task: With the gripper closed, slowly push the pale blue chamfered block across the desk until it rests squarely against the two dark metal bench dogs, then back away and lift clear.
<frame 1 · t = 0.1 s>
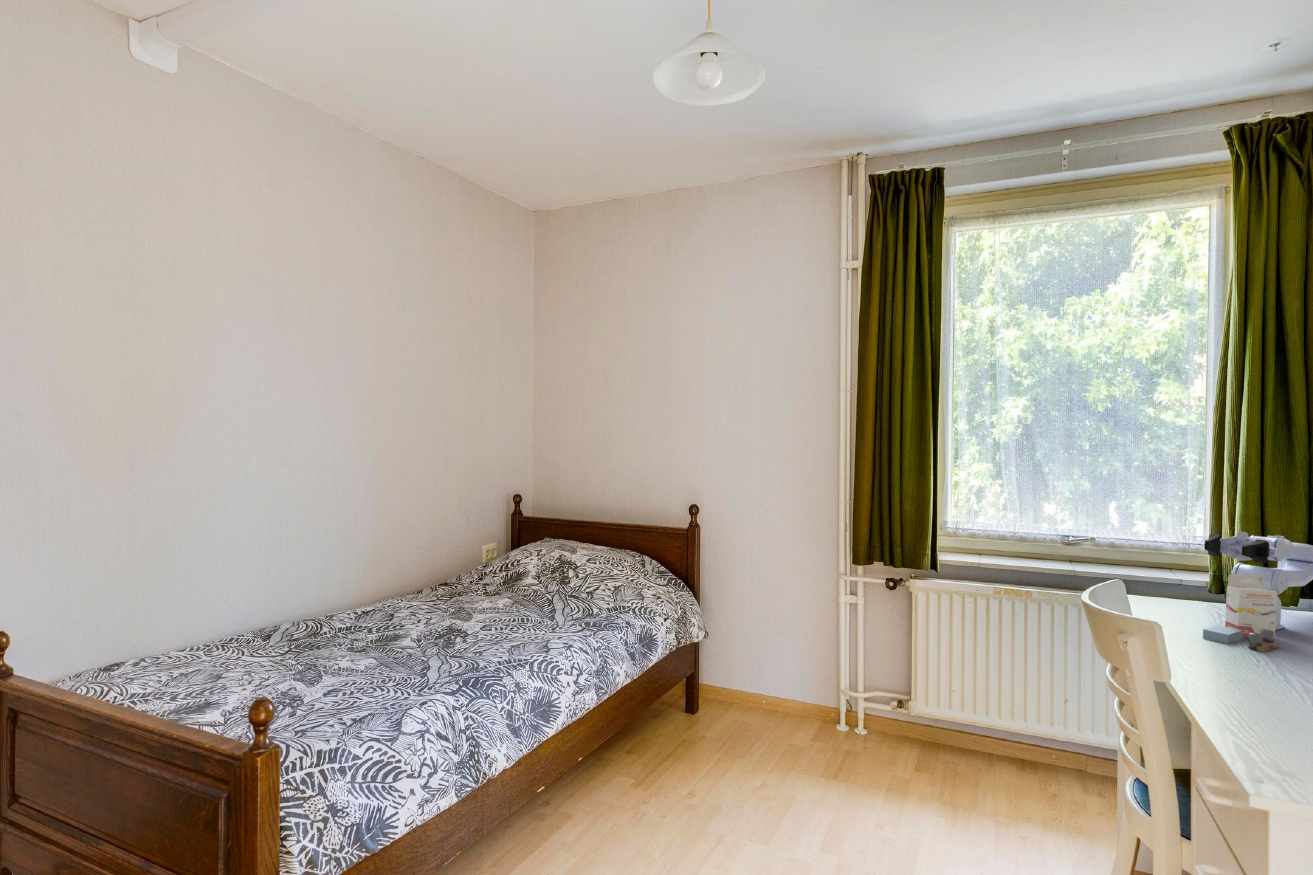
hand: (1224, 547, 173), 22 cm above the table, tool horizontal, fingers open, 7 cm apart
pale blue chamfered block: (1222, 639, 171), on the table
ink cartridge box: (1249, 636, 174), on the table
bench dogs: (1261, 647, 165), on the table
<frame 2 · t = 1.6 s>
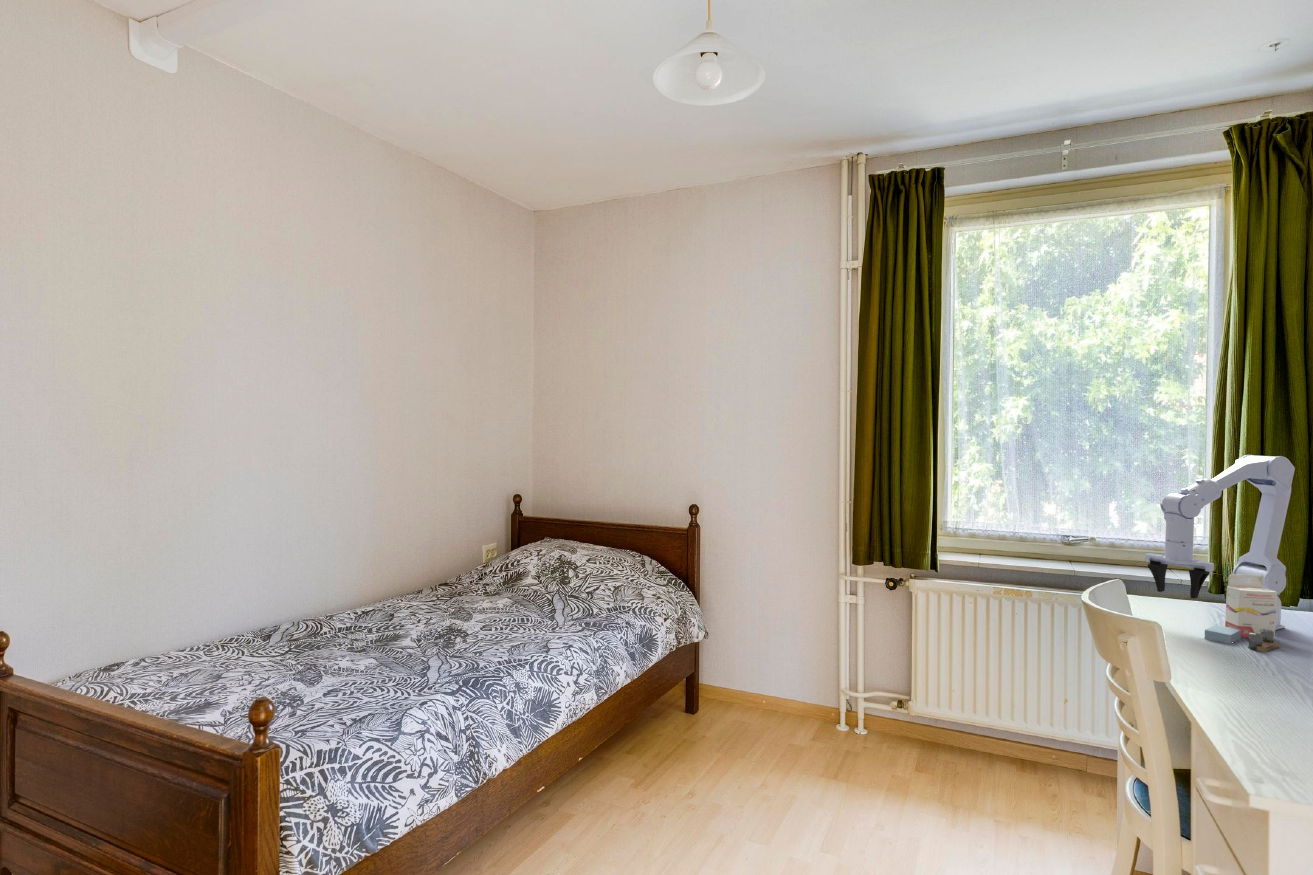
hand: (1177, 594, 180), 8 cm above the table, tool pointing down, fingers open, 7 cm apart
nothing on the table moved.
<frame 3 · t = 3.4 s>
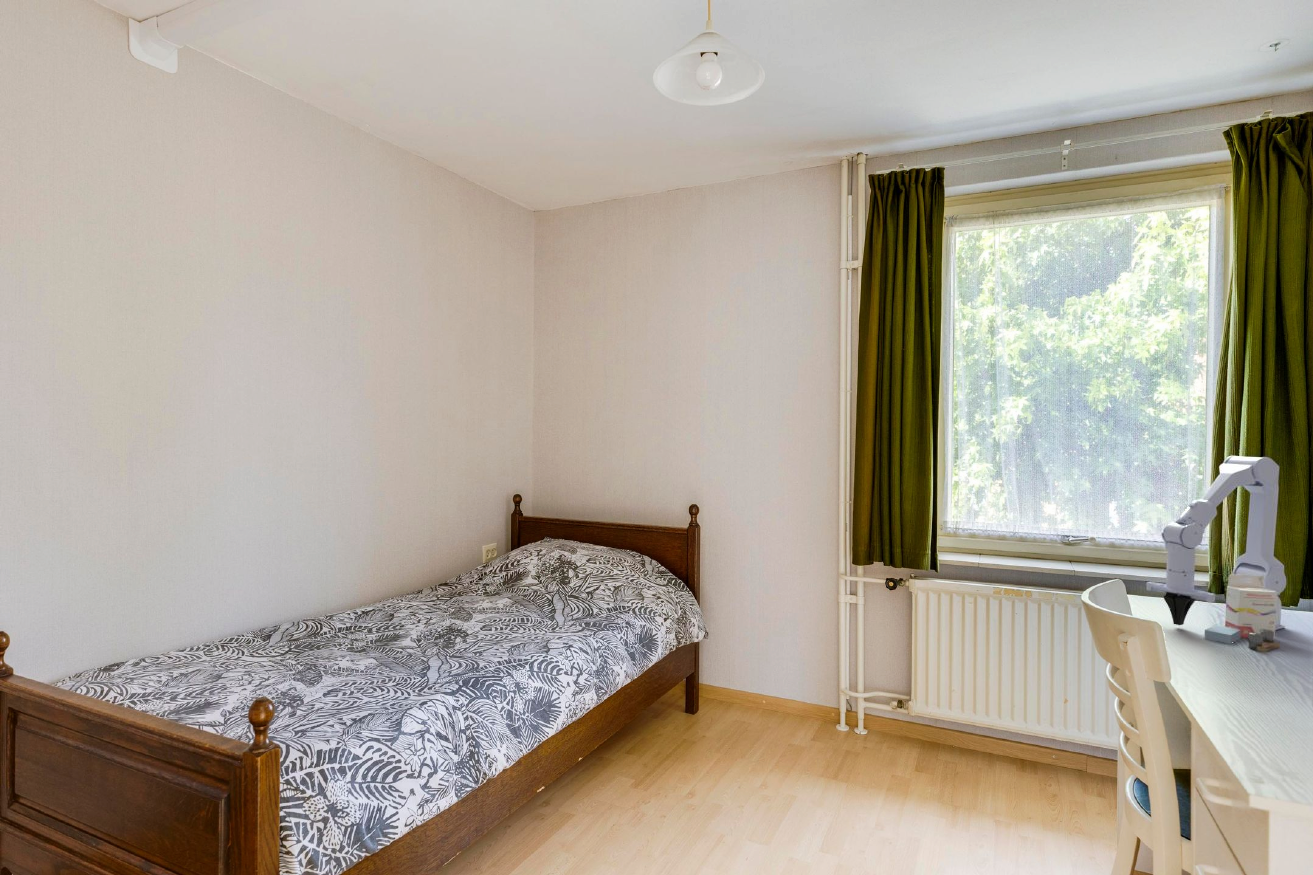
hand: (1178, 624, 180), 1 cm above the table, tool pointing down, fingers closed
nothing on the table moved.
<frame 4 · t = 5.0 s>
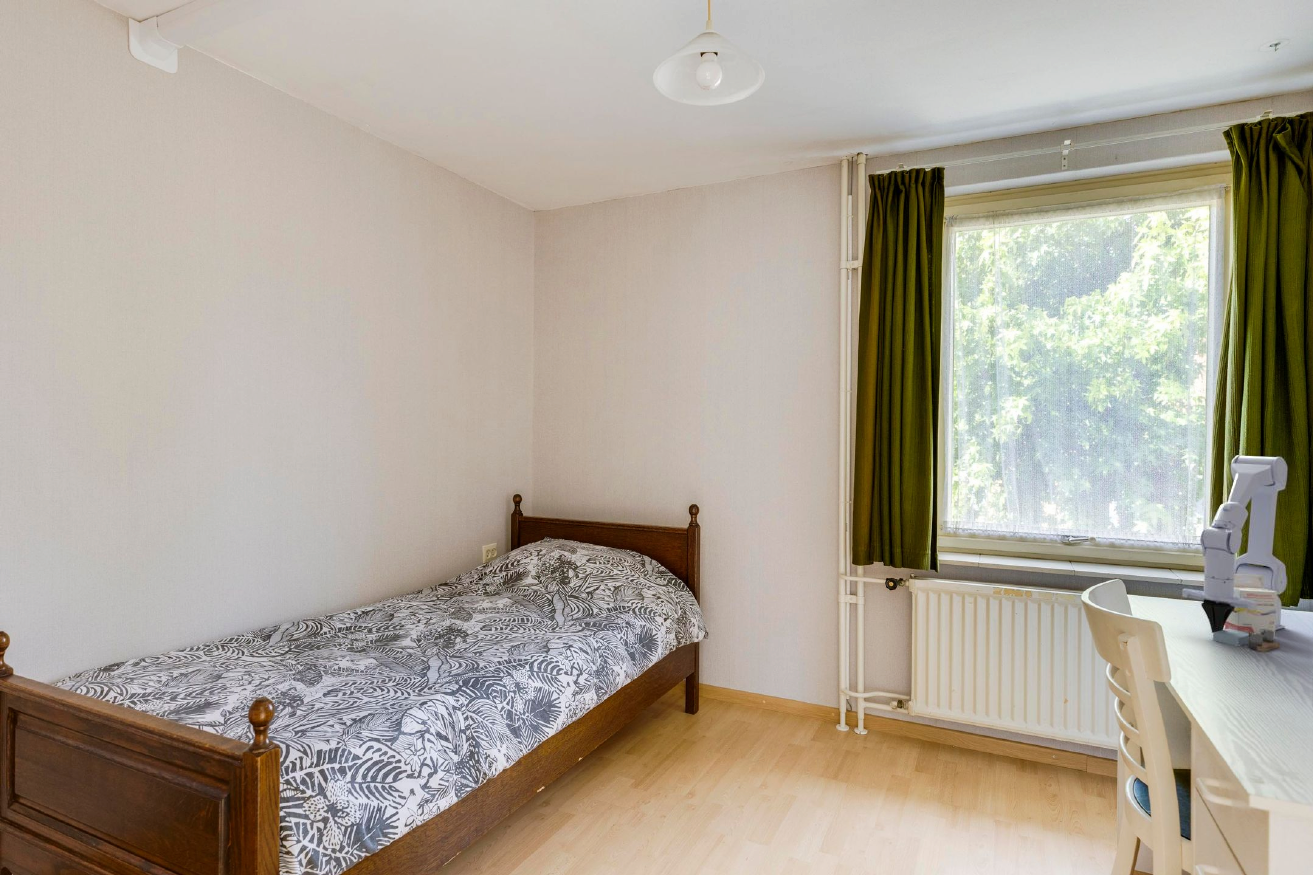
hand: (1217, 632, 172), 1 cm above the table, tool pointing down, fingers closed
pale blue chamfered block: (1233, 643, 169), on the table, touching gripper
everything else where it was.
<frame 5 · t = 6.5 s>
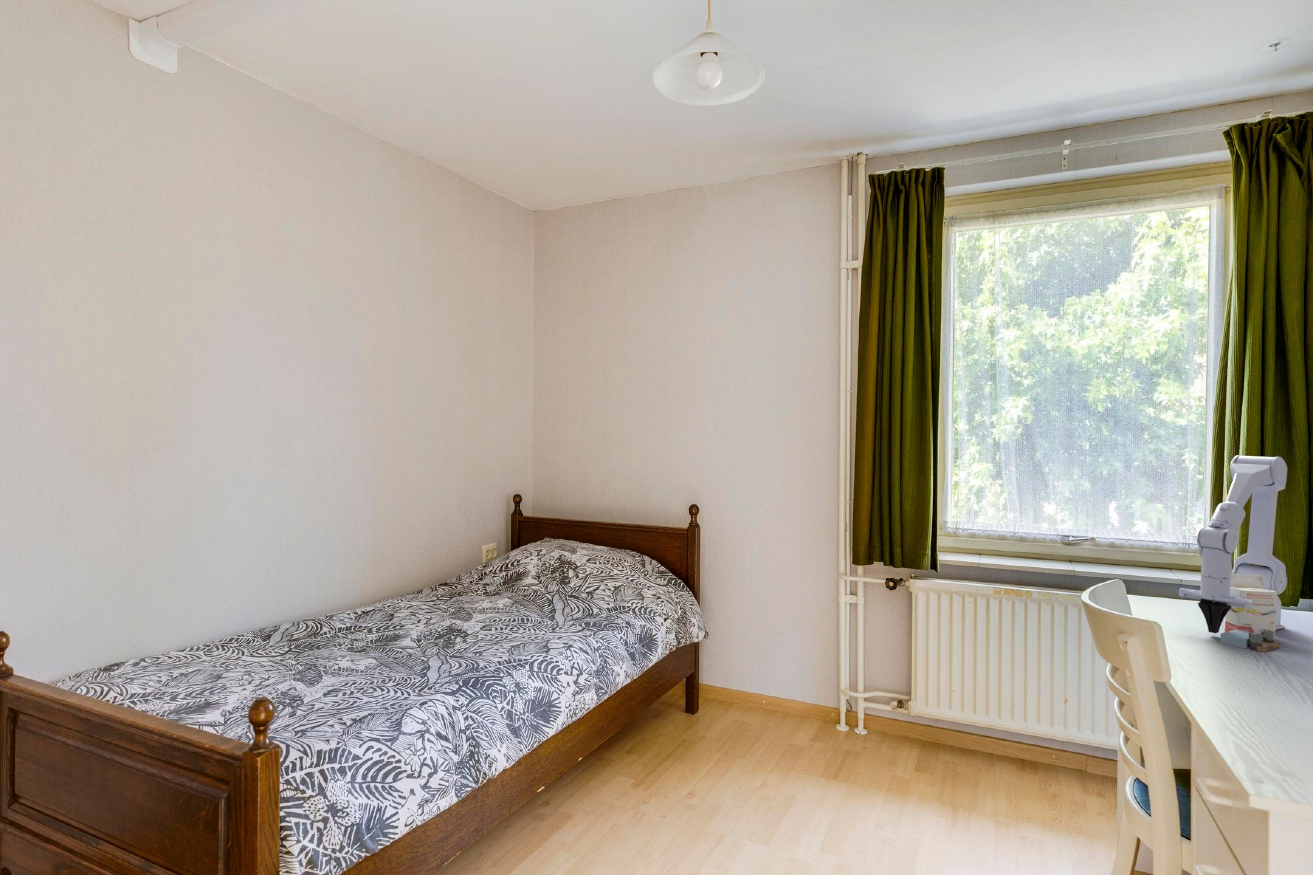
hand: (1213, 632, 173), 1 cm above the table, tool pointing down, fingers closed
pale blue chamfered block: (1240, 644, 168), on the table
everything else where it was.
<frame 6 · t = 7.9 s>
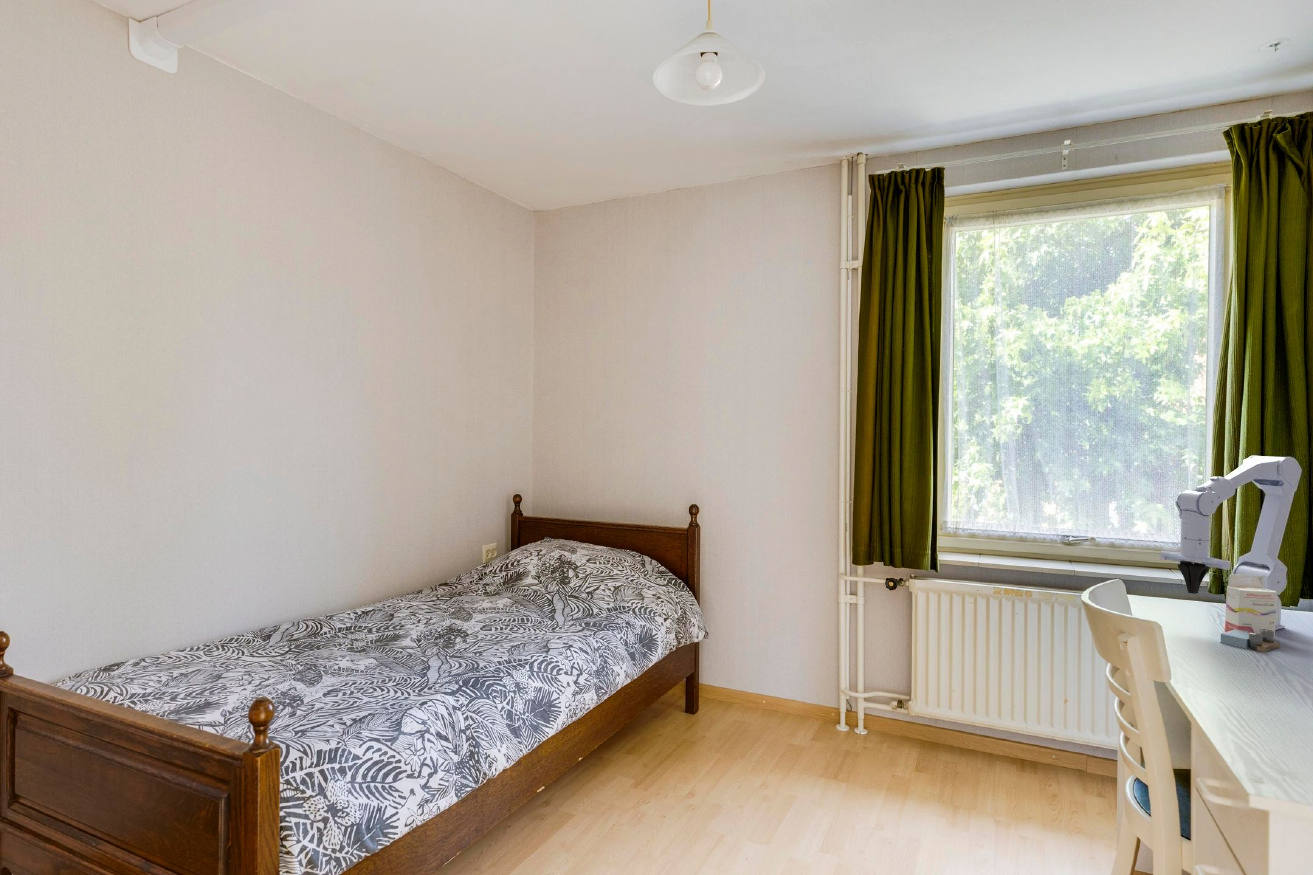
hand: (1192, 592, 178), 9 cm above the table, tool pointing down, fingers closed
nothing on the table moved.
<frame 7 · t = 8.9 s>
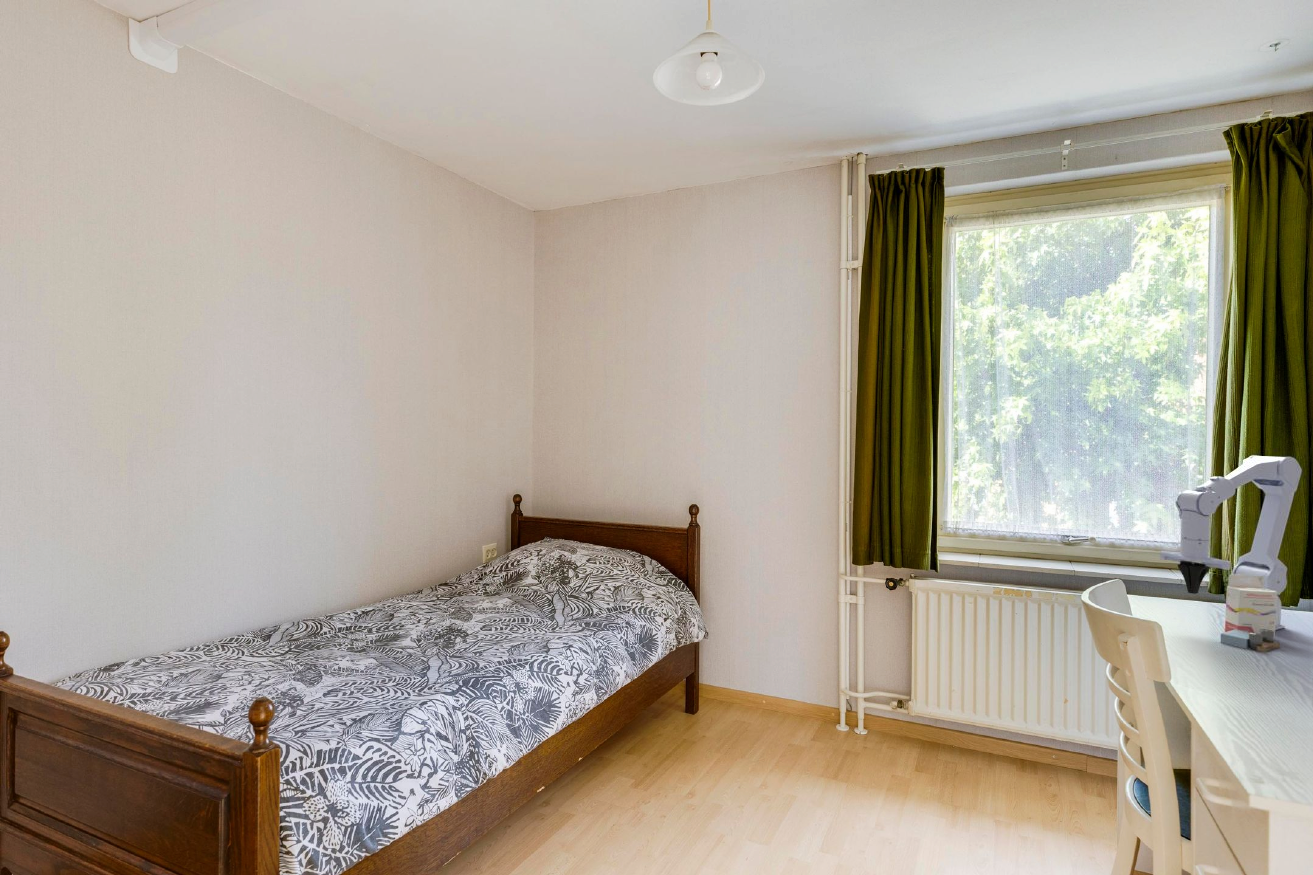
hand: (1192, 592, 178), 9 cm above the table, tool pointing down, fingers closed
nothing on the table moved.
at the end: pale blue chamfered block 0.3 cm from the target spot, on the table; pale blue chamfered block tilted 0° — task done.
